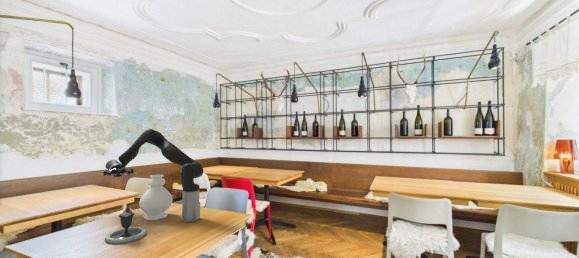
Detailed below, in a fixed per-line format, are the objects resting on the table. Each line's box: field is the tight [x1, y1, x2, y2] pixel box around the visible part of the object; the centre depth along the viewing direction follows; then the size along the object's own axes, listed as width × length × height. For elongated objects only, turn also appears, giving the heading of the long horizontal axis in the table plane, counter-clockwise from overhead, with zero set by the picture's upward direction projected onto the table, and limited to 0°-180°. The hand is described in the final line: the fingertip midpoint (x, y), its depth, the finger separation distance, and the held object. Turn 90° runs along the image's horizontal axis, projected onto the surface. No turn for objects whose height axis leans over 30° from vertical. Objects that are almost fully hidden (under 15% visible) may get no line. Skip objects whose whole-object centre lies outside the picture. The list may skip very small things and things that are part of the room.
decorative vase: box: [138, 173, 173, 221], centre depth 150 cm, size 18×18×25 cm
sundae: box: [118, 205, 136, 237], centre depth 121 cm, size 7×7×15 cm
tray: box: [104, 226, 147, 245], centre depth 120 cm, size 17×17×2 cm
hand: (119, 173), depth 138 cm, fingers open, 8 cm apart
